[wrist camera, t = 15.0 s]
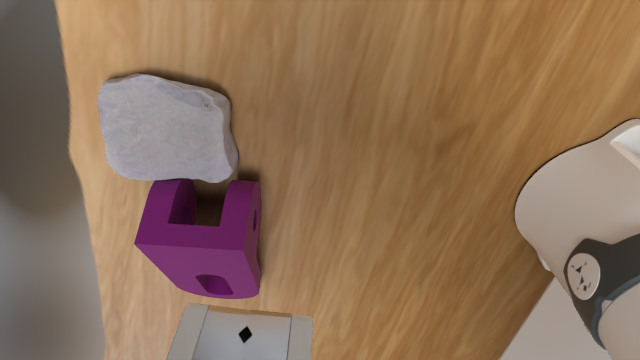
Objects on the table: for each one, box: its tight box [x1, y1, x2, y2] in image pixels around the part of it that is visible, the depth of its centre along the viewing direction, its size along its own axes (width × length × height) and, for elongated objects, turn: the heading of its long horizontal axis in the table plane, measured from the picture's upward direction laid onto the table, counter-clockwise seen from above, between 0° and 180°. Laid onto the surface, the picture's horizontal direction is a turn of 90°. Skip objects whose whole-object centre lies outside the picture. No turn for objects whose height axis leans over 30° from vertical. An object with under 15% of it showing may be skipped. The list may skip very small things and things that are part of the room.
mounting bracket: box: [134, 178, 261, 299], centre depth 46 cm, size 9×8×18 cm
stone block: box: [98, 73, 239, 183], centre depth 39 cm, size 12×5×10 cm
